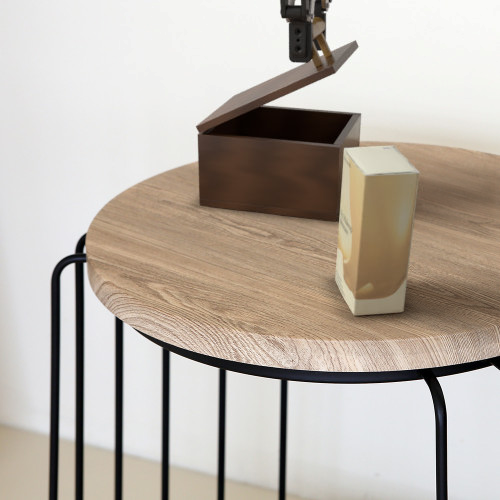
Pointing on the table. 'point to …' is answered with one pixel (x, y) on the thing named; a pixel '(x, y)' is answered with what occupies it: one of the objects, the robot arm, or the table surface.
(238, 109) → the lid
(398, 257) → the cosmetic box
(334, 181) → the chest
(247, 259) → the table surface
